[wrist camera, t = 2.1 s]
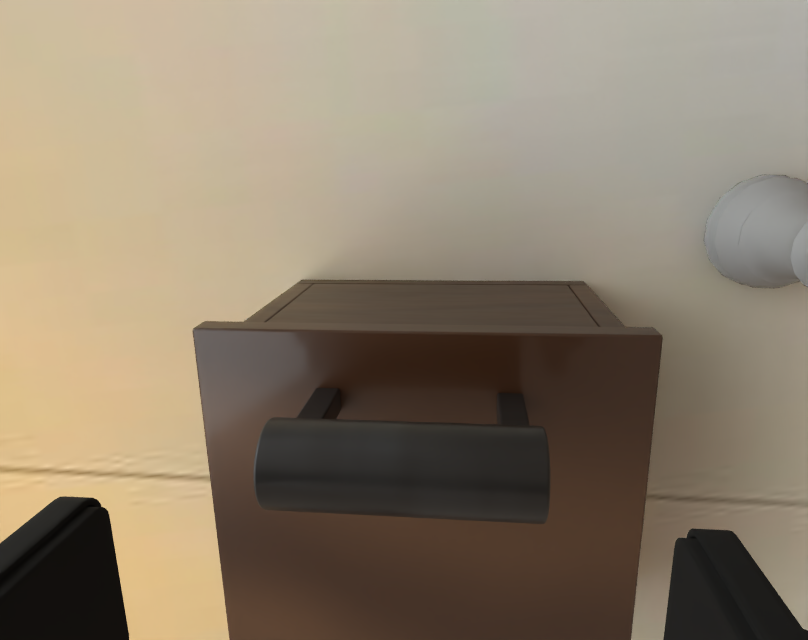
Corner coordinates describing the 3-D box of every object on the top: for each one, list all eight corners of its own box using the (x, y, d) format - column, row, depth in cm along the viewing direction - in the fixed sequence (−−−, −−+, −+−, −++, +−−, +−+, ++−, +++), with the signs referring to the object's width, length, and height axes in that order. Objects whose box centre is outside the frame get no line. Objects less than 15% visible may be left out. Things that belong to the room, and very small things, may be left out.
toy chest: (300, 279, 27) (207, 346, 17) (584, 280, 25) (651, 354, 16) (320, 569, 31) (253, 750, 21) (564, 584, 29) (607, 785, 20)
